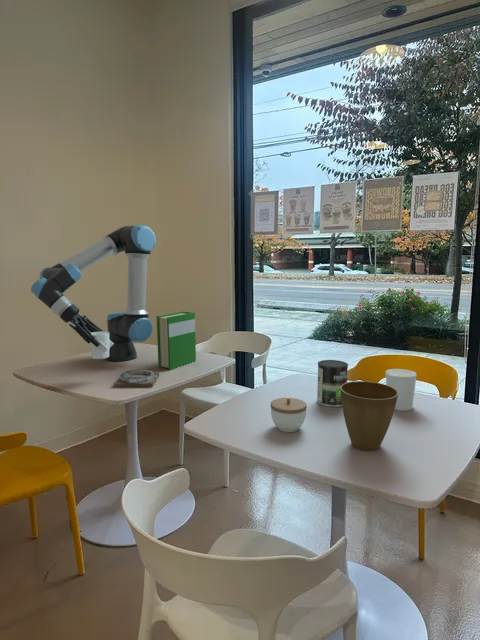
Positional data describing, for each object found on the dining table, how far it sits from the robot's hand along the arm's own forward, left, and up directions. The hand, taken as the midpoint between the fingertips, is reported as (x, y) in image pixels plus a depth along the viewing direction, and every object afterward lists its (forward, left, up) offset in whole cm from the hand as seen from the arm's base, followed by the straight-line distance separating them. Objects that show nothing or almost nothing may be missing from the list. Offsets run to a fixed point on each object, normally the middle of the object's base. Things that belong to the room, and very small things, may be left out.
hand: (108, 348), depth 176 cm
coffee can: (+28, +86, -14) cm, 91 cm away
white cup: (0, -3, -4) cm, 5 cm away
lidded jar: (+50, +68, -14) cm, 85 cm away
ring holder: (+2, +12, -14) cm, 18 cm away
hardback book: (-24, +25, -14) cm, 37 cm away
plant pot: (+62, +88, -14) cm, 108 cm away
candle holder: (+33, +108, -14) cm, 113 cm away
